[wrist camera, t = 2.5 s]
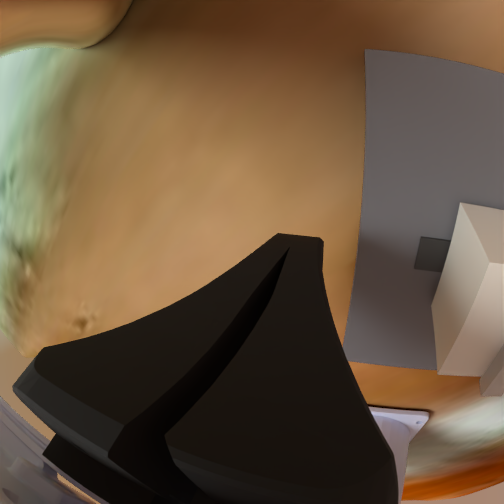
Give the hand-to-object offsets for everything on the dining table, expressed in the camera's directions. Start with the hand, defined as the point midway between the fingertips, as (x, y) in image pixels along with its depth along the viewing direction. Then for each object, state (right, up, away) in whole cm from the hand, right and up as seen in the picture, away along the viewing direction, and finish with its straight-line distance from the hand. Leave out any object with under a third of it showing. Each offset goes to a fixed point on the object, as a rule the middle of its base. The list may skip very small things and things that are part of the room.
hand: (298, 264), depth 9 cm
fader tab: (+7, 0, -1) cm, 7 cm away
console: (+13, 0, -1) cm, 13 cm away
